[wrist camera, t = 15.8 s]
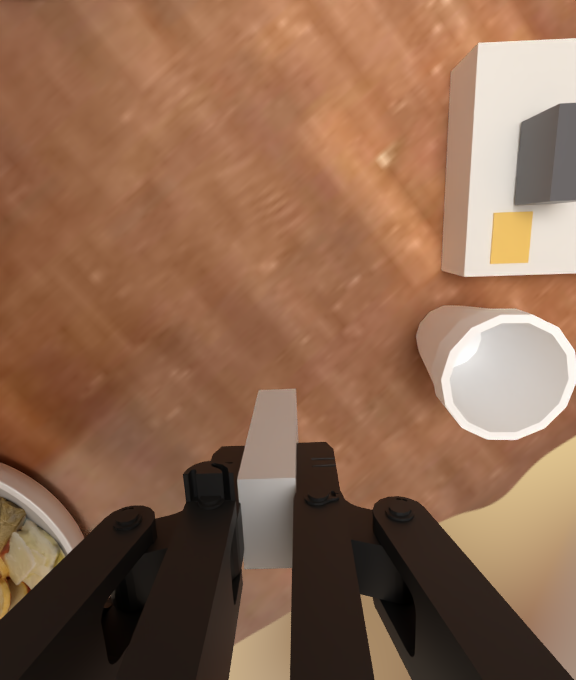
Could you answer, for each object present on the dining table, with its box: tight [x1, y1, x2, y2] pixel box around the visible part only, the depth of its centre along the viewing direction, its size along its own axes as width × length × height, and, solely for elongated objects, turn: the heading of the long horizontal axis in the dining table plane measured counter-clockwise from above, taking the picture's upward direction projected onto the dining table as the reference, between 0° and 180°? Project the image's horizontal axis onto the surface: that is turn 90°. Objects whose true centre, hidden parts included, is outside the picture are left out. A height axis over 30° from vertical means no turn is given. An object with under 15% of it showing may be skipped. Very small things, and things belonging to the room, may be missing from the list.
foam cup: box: [416, 305, 576, 440], centre depth 37 cm, size 10×9×13 cm
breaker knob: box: [515, 103, 576, 205], centre depth 32 cm, size 6×3×5 cm, turn 2°
